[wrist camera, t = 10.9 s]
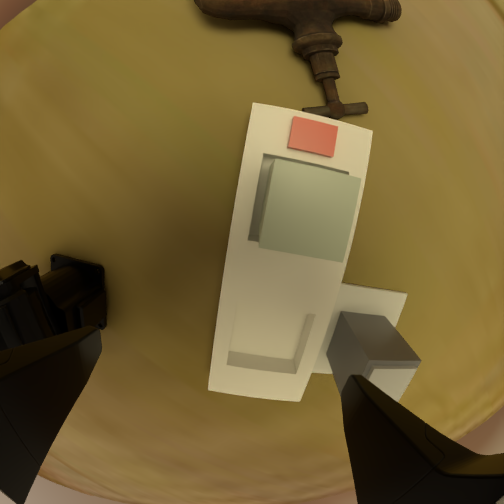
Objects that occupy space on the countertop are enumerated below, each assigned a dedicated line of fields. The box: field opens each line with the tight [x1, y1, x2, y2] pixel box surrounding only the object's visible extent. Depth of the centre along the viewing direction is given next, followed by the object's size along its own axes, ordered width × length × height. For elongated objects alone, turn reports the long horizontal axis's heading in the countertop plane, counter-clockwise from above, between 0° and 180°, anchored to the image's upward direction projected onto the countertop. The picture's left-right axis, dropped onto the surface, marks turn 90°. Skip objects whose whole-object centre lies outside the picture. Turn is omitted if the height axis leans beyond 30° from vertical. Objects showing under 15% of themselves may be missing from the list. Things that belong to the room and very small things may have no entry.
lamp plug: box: [259, 159, 361, 263], centre depth 16 cm, size 4×4×6 cm
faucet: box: [194, 0, 401, 119], centre depth 15 cm, size 5×17×15 cm
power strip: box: [208, 103, 373, 402], centre depth 19 cm, size 22×8×4 cm, turn 170°
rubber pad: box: [312, 283, 408, 374], centre depth 22 cm, size 8×9×1 cm
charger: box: [326, 311, 421, 402], centre depth 18 cm, size 4×4×7 cm
